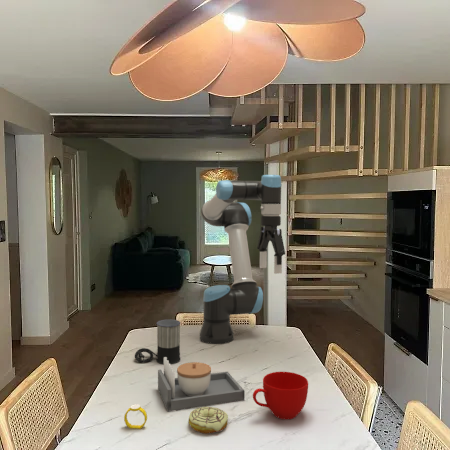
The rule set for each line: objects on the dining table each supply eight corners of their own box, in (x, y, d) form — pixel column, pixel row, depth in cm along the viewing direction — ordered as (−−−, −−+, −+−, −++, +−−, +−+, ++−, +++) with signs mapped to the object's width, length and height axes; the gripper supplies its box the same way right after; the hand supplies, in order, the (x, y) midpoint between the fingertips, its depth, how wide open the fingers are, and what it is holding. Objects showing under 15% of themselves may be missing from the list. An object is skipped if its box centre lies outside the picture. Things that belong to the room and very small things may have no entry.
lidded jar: (206, 401, 133) (206, 371, 132) (172, 398, 135) (172, 368, 134) (214, 386, 143) (214, 358, 143) (182, 383, 145) (182, 356, 145)
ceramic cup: (242, 411, 129) (242, 377, 129) (291, 400, 136) (292, 368, 136) (264, 432, 117) (264, 395, 117) (316, 419, 124) (317, 385, 124)
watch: (124, 430, 118) (122, 409, 118) (126, 425, 121) (125, 404, 121) (146, 430, 118) (144, 408, 118) (148, 424, 121) (146, 403, 120)
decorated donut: (225, 437, 115) (225, 423, 115) (185, 435, 116) (185, 421, 116) (229, 418, 125) (229, 405, 125) (192, 415, 127) (192, 402, 126)
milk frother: (185, 361, 169) (185, 323, 168) (148, 370, 159) (148, 330, 158) (166, 351, 180) (166, 315, 179) (130, 359, 170) (130, 321, 169)
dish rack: (158, 389, 144) (157, 356, 143) (227, 380, 151) (227, 348, 151) (167, 411, 128) (167, 374, 128) (244, 400, 136) (244, 365, 136)
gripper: (249, 214, 179) (249, 266, 180) (276, 216, 155) (275, 276, 157) (266, 214, 181) (265, 265, 183) (295, 216, 158) (294, 275, 159)
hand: (270, 270), depth 170 cm, fingers open, 13 cm apart
